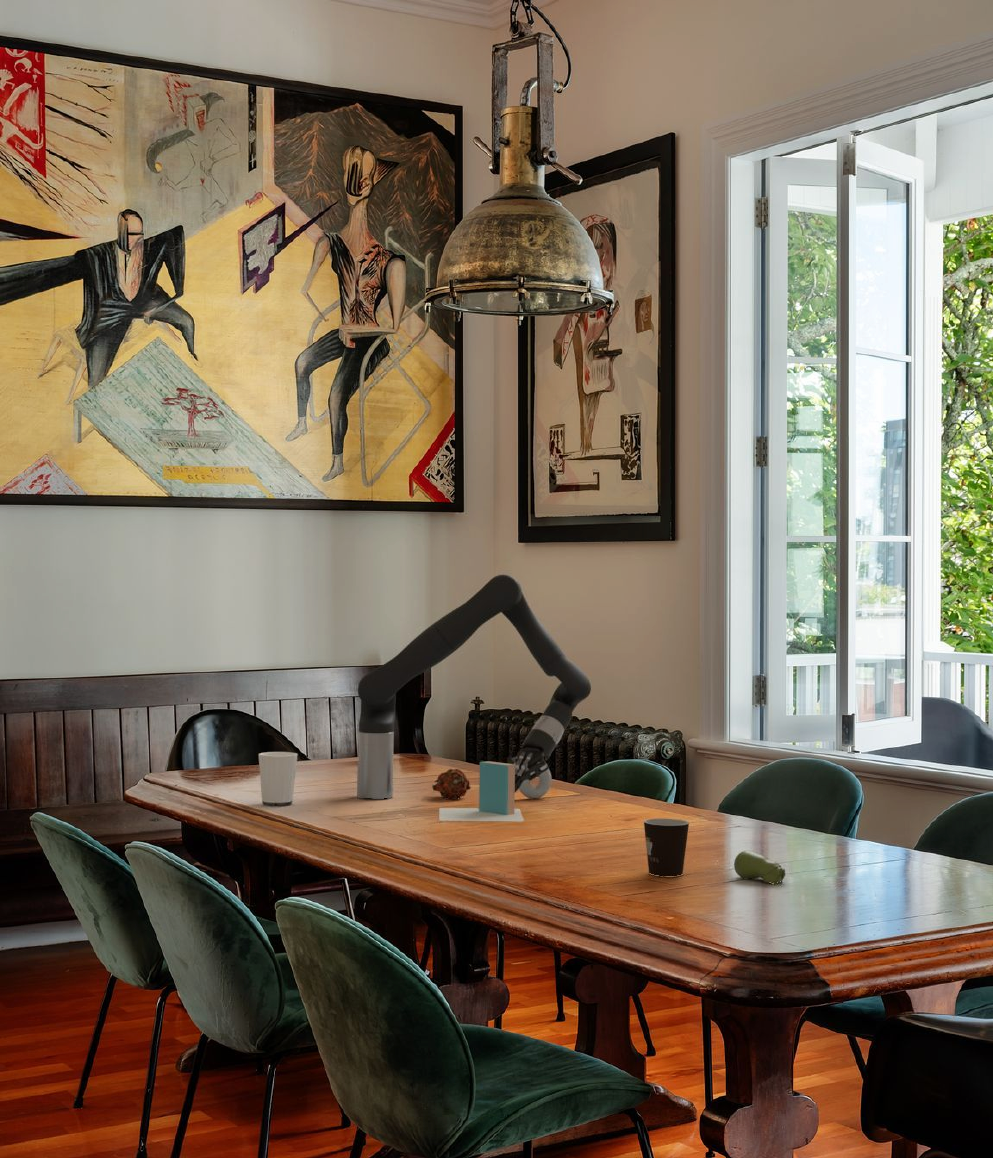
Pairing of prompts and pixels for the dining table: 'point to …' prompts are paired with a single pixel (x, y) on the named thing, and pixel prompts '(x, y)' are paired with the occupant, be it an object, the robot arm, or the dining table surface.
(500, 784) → the teal rectangular block
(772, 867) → the pear
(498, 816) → the felt mat
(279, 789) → the cup
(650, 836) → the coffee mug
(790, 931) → the dining table surface
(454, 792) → the brown textured round lump
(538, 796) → the donut
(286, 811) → the dining table surface
